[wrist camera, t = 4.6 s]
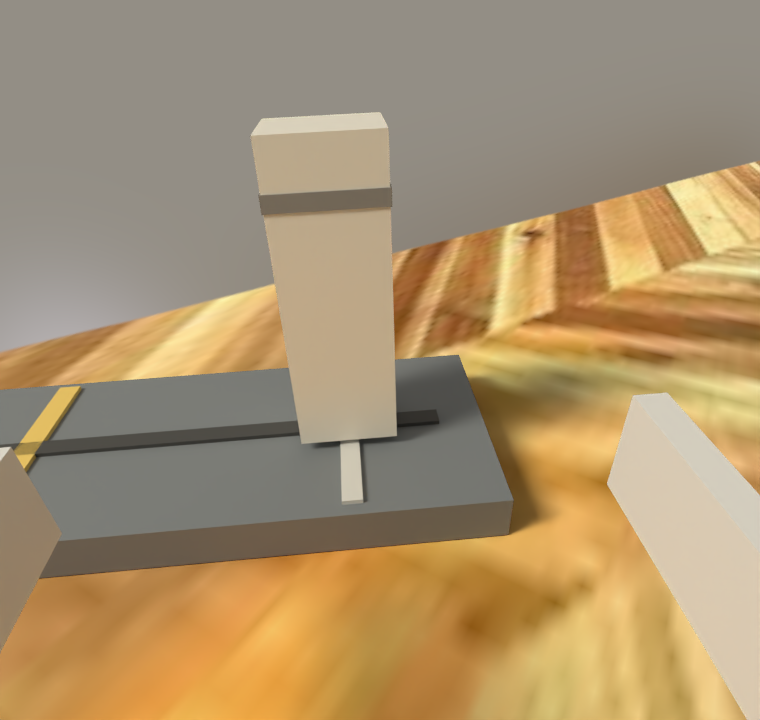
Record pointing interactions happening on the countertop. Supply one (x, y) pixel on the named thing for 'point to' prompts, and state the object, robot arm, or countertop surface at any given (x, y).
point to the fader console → (249, 469)
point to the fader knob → (332, 268)
